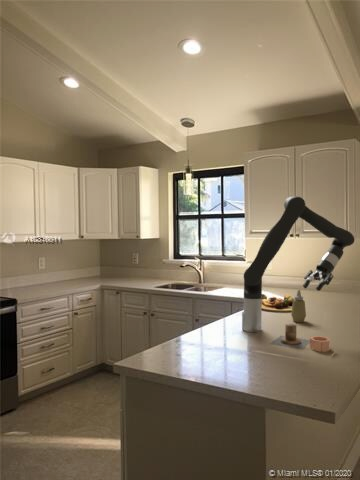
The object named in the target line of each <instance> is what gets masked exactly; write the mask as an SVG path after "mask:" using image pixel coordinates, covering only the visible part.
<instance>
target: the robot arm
mask: <svg viewBox="0 0 360 480" xmlns="http://www.w3.org/2000/svg"><path fill="white" fill-rule="evenodd" d="M283 205H284V206H283V207H284V211H283V214H282V215H281V217H280V218H279V220H278V221H277V222H276V223H275V224H274V225H273V226H272V227H271V228H270V230H269V231H268V232H267V234H266V236H265V237H264V239H263V241H262V243H261V245H260V247H259V249H258V251H257V254H256V256H255V257H254V259H253V261H252V262H251V264H250V265H249V266H248V267H247V268H246V270H244V273H243V282H244V283H243V311H242V313H241V320H242V322H241V324H242V325H241V328H242V329H241V330H242V331H244V332H247V333H257V332H260V331H262V328H263V327H262V317H263V316H262V315H263V314H262V294H263V293H262V292H263V287H262V286H263V284H262V283H263V281H262V280H263V276H264V274H265V272H266V270H267V268H268V266H269V265H270V263H271V262H272V261H273V260H274V258H275V256H277V253H278V252H279V251H280V249H281V247H282V246H283V245H284V243H285V241H286V239H287V237H288V236H289V233H290V232H291V230H292V228H293V227H294V225H295V223H296V222H297V221H298V219H299V218H300V219H301V220H303V221H305V222H306V223H308V224H309V225H311V226H312V227H313V228H314V229H316V230H317V231H318V232H320V233H321V234H323V235H324V236H325V237H327V238H329V239H333V240H332V241H331V244H330V247H329V248H328V250H327V251H326V253H325V254H324V255H323V256H322V258H321V259H320V261H319V262H318V264H317V265H316V269H315V270H312V269H309V271H308V272H307V273H306V275H305V276H304V277H303V278H304V280H305V281H304V283H303V284H302V287H303V288H304V289H307V288H308V287H309V285H310V284H311V283H312V282H315V281H319V283H318V285H316V288H315V289H316V291H318V292H320V291H321V290H322V288H323V287H324V286H326V285H327V286H329V285H330V283H331V281H332V280H333V278H334V275H333V271H334V270H335V269H336V267H337V265H338V263H339V261H340V260H341V259H342V257H343V255H344V249H345V248H347V247H350V246H352V245H353V244H354V243H355V236H354V235H353V233H351V232H350V231H349V230H347V229H345V228H342V227H339V226H337V225H336V224H334V223H332V222H331V221H330V220H329V219H327V218H325V217H324V216H322V215H320V214H319V213H317V212H315V211H314V210H312V209H310V208H309V207H308V206H307V205H306V200H304V199H303V198H302V197H300V196H296V195H295V196H294V195H292V196H289V197H287V198H286V199H285V201H284V203H283Z"/></svg>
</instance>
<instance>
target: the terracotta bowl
mask: <svg viewBox="0 0 360 480" xmlns="http://www.w3.org/2000/svg"><path fill="white" fill-rule="evenodd" d="M309 340H310V342H309V348H310V349H311V350H312V351H316V352H325V353H326V352H329V351H330V349H331V339H330V338H329V337H327V336H320V335H317V336H314V335H313V336H311V337H309Z"/></svg>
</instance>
